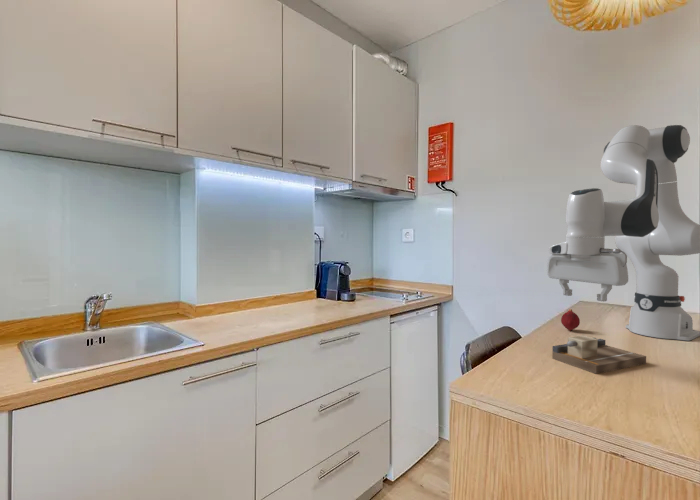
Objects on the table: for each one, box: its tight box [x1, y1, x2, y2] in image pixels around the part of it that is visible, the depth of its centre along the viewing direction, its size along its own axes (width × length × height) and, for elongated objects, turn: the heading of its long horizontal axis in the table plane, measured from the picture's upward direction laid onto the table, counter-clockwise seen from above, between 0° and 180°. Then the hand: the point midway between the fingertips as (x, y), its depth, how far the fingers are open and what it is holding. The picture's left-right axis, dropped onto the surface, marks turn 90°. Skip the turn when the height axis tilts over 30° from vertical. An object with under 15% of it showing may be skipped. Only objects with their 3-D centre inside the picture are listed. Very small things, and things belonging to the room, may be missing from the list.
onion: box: [560, 308, 581, 332], centre depth 126 cm, size 6×6×8 cm
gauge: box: [566, 335, 599, 358], centre depth 94 cm, size 10×4×4 cm, turn 111°
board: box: [551, 338, 647, 375], centre depth 95 cm, size 20×12×4 cm, turn 111°
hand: (583, 298), depth 95 cm, fingers open, 8 cm apart
